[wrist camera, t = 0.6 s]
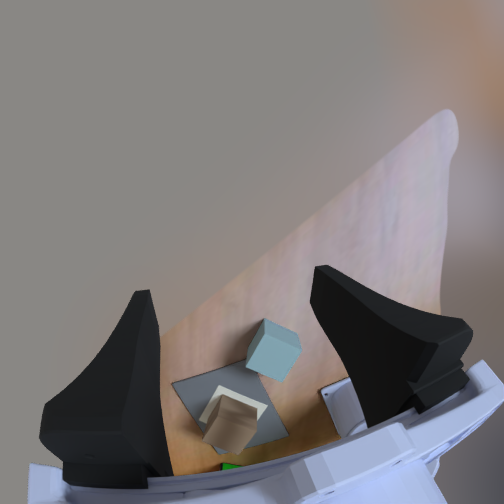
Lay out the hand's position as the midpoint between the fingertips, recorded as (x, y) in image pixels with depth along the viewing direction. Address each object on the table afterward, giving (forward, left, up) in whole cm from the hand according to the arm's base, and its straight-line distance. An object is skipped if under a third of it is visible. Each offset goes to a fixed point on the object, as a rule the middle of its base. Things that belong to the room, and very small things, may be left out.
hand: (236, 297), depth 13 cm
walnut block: (-19, +11, -21) cm, 30 cm away
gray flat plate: (-19, +11, -21) cm, 31 cm away
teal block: (-11, +2, -21) cm, 24 cm away
